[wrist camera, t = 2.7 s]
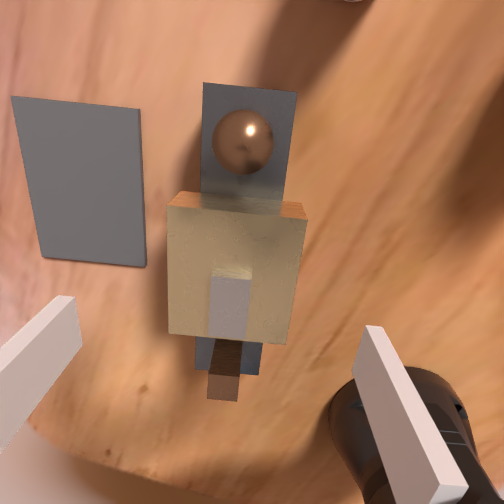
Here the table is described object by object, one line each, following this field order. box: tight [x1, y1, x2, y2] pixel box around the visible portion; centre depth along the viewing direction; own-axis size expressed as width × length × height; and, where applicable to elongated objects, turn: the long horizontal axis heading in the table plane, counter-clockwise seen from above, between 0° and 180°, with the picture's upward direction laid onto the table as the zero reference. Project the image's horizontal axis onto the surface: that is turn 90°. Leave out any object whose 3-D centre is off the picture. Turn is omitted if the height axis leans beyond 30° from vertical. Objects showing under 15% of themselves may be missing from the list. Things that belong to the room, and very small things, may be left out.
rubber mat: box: [11, 96, 147, 267], centre depth 28 cm, size 14×10×1 cm
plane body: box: [195, 82, 297, 402], centre depth 24 cm, size 22×6×11 cm, turn 175°
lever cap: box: [166, 191, 308, 345], centre depth 21 cm, size 9×8×4 cm
